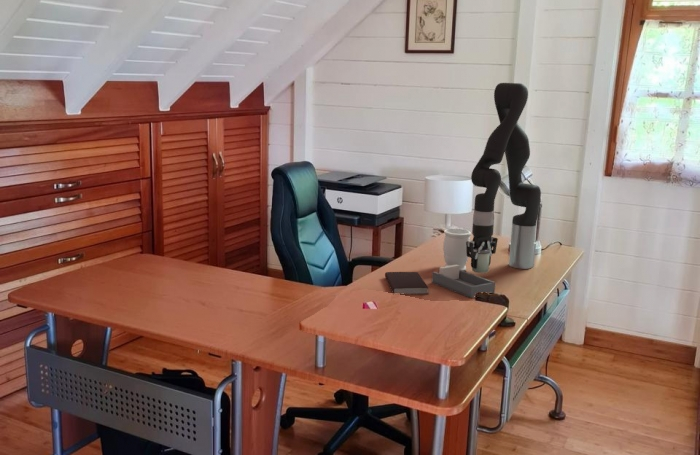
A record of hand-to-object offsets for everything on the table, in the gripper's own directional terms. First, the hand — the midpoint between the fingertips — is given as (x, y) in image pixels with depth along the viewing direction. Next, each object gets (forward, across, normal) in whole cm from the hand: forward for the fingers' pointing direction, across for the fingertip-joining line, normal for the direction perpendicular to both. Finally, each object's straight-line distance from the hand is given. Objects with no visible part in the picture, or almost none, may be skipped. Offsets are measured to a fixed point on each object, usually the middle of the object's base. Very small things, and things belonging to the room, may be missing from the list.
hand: (480, 266), depth 251 cm
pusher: (+4, +12, -3) cm, 13 cm away
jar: (+5, -2, -16) cm, 17 cm away
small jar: (+1, 0, 0) cm, 1 cm away
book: (+5, +29, -8) cm, 30 cm away
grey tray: (+5, +12, +4) cm, 14 cm away
